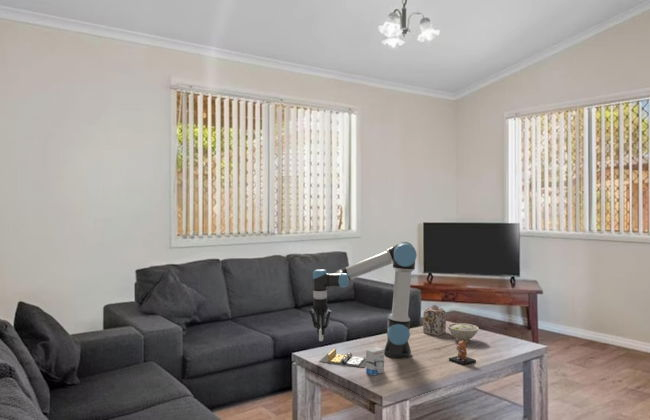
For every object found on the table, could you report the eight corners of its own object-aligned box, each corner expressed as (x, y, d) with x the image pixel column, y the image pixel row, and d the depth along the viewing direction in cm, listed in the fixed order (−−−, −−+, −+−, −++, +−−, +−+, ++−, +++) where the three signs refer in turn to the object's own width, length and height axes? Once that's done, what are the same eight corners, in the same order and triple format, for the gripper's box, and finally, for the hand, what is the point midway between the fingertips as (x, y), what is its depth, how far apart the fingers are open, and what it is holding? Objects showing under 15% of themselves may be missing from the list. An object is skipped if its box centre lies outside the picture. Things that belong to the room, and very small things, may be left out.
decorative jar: (429, 329, 330) (430, 303, 330) (446, 332, 324) (446, 305, 323) (422, 333, 321) (422, 306, 320) (439, 336, 314) (439, 308, 314)
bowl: (442, 342, 301) (442, 326, 300) (452, 335, 317) (452, 319, 317) (474, 347, 290) (474, 330, 290) (482, 339, 307) (482, 324, 307)
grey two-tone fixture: (370, 359, 266) (370, 359, 266) (364, 367, 252) (364, 367, 252) (327, 354, 274) (327, 353, 274) (319, 362, 261) (319, 361, 261)
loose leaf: (351, 357, 268) (351, 350, 268) (345, 364, 256) (345, 356, 256) (334, 355, 271) (334, 348, 271) (327, 362, 260) (327, 354, 260)
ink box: (372, 375, 241) (372, 352, 241) (365, 373, 245) (365, 349, 245) (384, 372, 246) (384, 349, 246) (377, 369, 250) (377, 346, 250)
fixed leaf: (364, 358, 266) (364, 353, 266) (358, 366, 253) (358, 360, 253) (347, 356, 269) (347, 351, 269) (340, 364, 257) (340, 358, 257)
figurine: (449, 360, 265) (449, 339, 265) (461, 357, 271) (461, 336, 271) (463, 366, 257) (464, 343, 257) (475, 362, 263) (476, 340, 263)
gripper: (333, 297, 268) (334, 339, 269) (311, 296, 273) (312, 337, 273) (329, 299, 261) (330, 343, 262) (306, 298, 266) (307, 341, 266)
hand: (321, 340), depth 267 cm, fingers closed
